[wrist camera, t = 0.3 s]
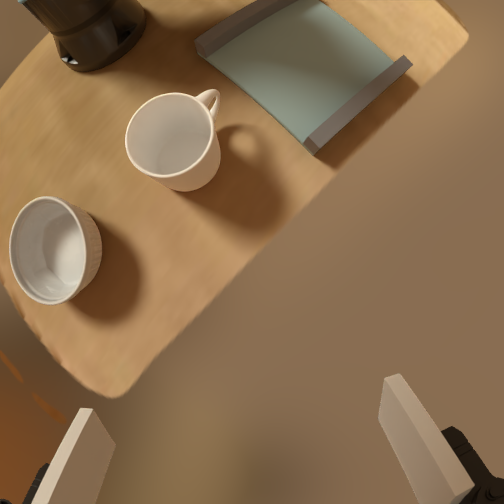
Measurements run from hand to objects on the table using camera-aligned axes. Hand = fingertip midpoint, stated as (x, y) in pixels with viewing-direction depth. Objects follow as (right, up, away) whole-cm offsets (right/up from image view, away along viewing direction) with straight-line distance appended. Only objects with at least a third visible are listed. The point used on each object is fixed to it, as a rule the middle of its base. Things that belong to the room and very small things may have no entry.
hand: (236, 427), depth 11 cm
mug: (-6, +20, +25) cm, 33 cm away
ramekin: (-24, +8, +25) cm, 36 cm away
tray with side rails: (+9, +35, +24) cm, 43 cm away
